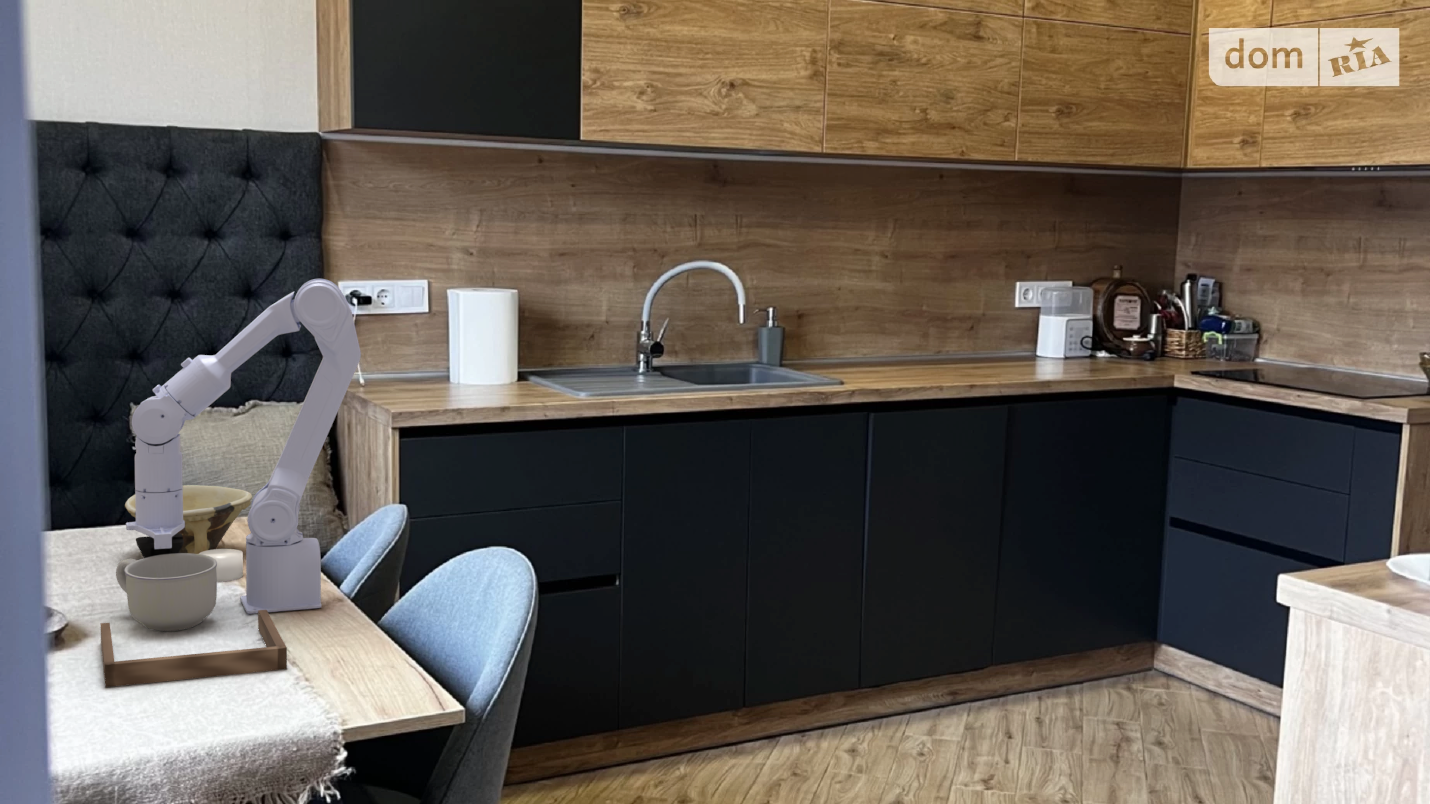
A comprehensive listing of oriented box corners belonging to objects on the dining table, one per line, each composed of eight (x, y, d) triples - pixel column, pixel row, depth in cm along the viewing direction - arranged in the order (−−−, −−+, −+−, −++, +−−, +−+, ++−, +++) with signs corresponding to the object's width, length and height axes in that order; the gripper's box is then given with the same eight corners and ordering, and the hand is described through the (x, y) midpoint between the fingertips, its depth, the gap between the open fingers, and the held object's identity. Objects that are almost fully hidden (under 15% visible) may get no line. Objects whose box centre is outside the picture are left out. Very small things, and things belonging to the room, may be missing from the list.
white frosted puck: (240, 571, 200) (240, 547, 199) (245, 580, 194) (245, 556, 194) (196, 574, 197) (196, 550, 196) (200, 584, 192) (200, 559, 191)
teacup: (235, 623, 173) (235, 561, 172) (161, 642, 164) (160, 578, 163) (167, 604, 180) (166, 545, 179) (91, 622, 171) (90, 560, 170)
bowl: (125, 547, 211) (124, 486, 210) (247, 540, 218) (247, 482, 217) (125, 574, 195) (124, 508, 194) (257, 566, 202) (257, 503, 201)
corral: (266, 629, 171) (266, 609, 170) (286, 669, 155) (286, 647, 155) (100, 643, 162) (100, 623, 162) (105, 687, 147) (104, 665, 147)
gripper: (123, 480, 181) (125, 580, 182) (127, 500, 168) (129, 608, 169) (180, 478, 184) (181, 576, 185) (188, 498, 171) (189, 603, 172)
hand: (160, 591), depth 177 cm, fingers closed
